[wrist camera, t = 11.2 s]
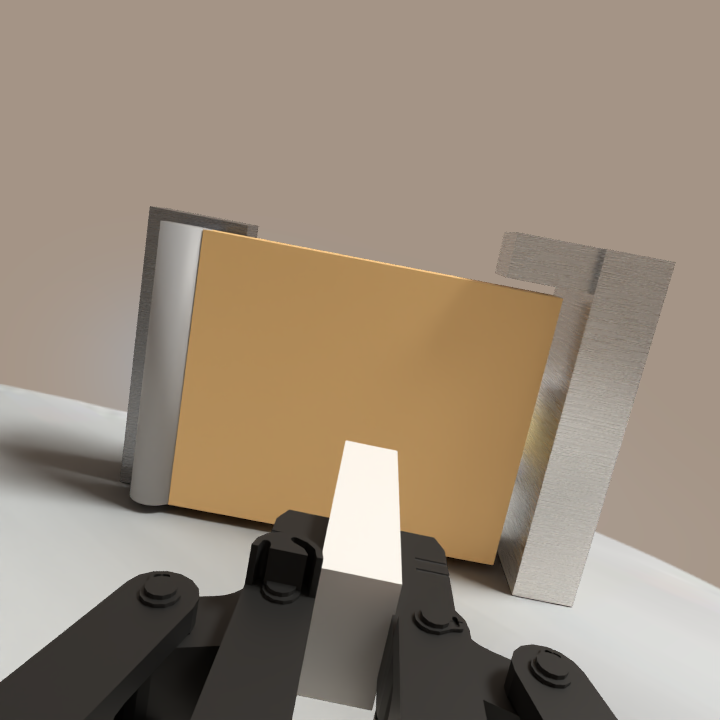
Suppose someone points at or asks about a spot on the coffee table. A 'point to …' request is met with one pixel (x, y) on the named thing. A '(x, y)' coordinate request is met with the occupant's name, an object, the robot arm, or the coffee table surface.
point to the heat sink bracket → (554, 402)
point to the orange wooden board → (334, 384)
